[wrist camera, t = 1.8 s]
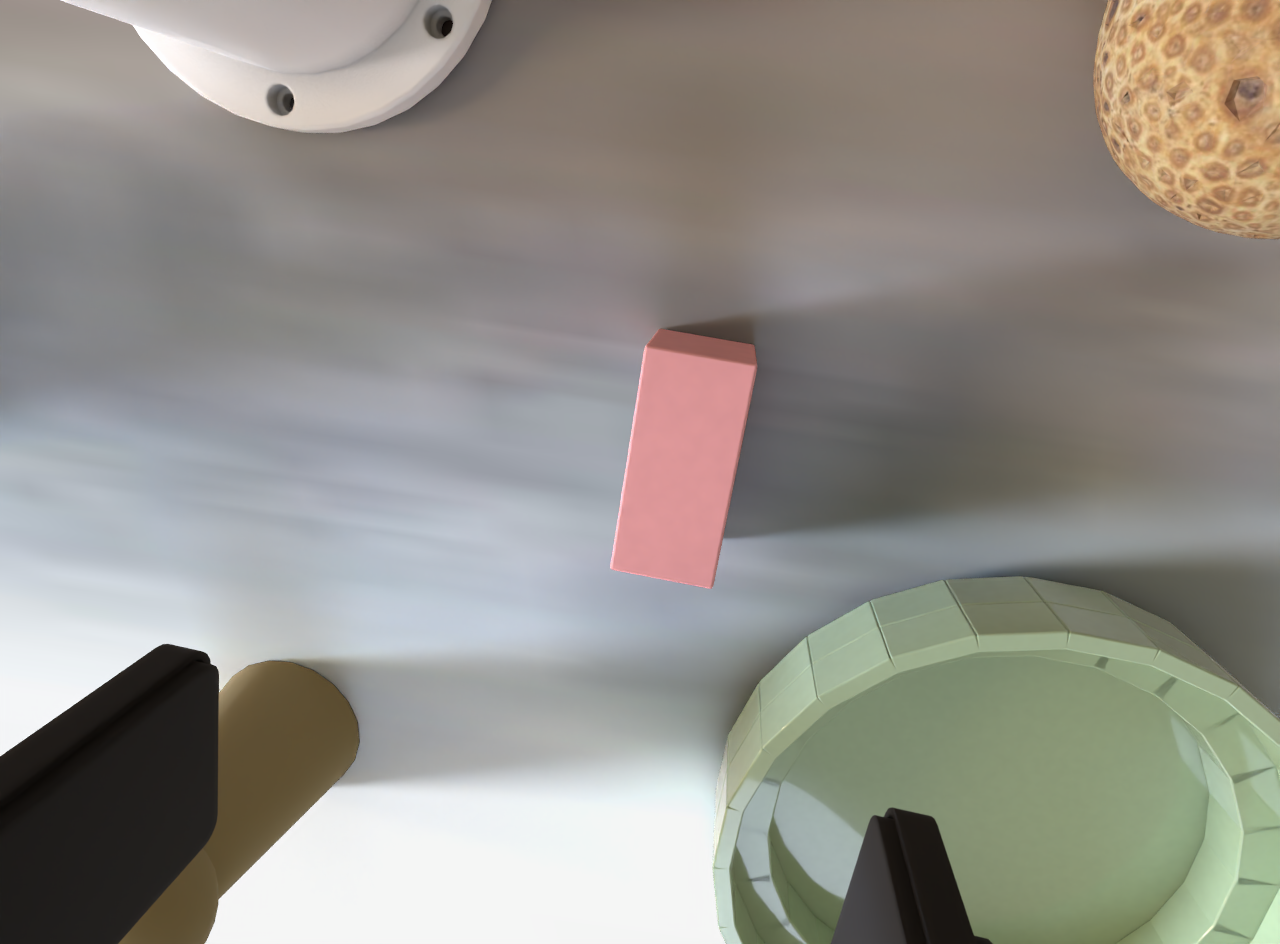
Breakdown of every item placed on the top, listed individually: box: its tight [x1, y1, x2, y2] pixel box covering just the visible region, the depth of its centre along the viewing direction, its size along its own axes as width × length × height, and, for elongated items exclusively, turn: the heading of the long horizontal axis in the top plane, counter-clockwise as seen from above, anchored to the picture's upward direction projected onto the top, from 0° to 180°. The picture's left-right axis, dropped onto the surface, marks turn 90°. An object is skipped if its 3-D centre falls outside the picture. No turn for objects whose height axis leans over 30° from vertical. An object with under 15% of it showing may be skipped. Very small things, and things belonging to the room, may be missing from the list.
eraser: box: [611, 329, 757, 589], centre depth 25 cm, size 7×3×4 cm, turn 171°
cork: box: [118, 661, 359, 944], centre depth 27 cm, size 6×6×11 cm
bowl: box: [713, 576, 1280, 944], centre depth 28 cm, size 19×19×4 cm
